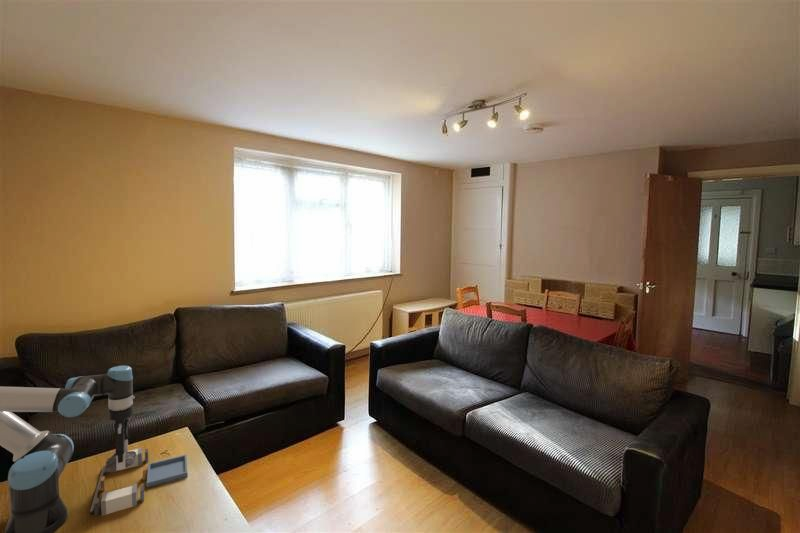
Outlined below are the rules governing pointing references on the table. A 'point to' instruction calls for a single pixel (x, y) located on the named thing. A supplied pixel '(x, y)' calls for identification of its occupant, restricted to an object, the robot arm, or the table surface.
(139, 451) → the fuse
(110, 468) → the rock
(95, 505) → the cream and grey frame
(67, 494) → the table surface
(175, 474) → the tray
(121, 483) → the table surface
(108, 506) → the fuse
